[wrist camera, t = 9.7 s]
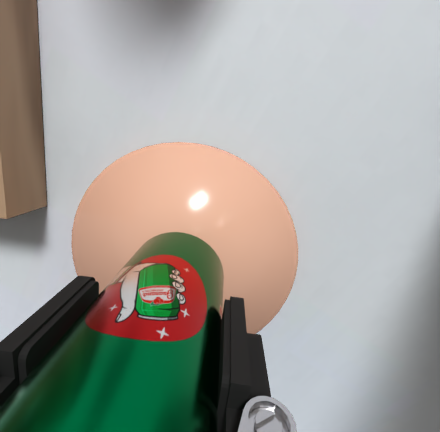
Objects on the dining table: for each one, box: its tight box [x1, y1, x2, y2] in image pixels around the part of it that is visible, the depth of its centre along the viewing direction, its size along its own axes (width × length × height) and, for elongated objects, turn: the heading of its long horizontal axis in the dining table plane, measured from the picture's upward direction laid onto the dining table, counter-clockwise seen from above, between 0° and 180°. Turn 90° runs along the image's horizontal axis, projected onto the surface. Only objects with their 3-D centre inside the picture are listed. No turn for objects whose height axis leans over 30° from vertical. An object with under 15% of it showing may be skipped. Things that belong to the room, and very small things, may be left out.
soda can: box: [0, 232, 224, 432], centre depth 9 cm, size 5×5×12 cm
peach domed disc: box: [72, 142, 298, 334], centre depth 16 cm, size 14×14×1 cm
